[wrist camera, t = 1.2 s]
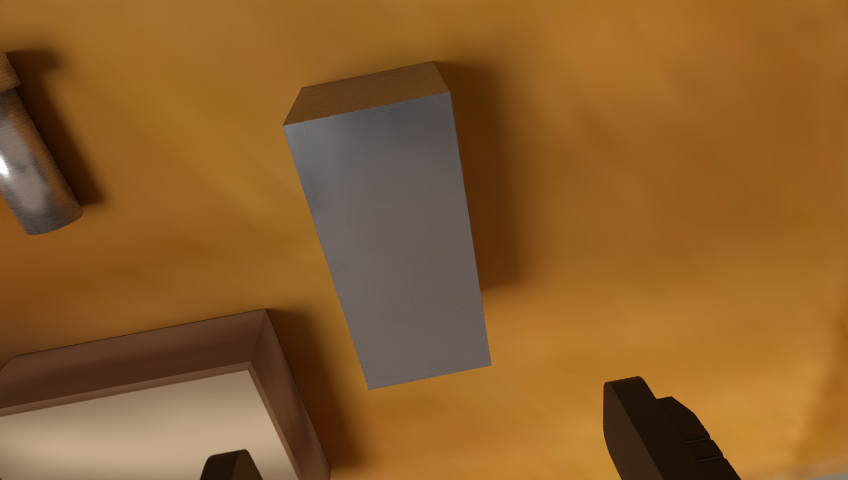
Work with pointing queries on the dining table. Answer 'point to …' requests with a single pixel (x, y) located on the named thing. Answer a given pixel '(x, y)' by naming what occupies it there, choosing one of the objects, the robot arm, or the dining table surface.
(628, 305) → the dining table surface
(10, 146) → the bolt
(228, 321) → the stand
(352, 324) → the block
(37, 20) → the dining table surface
